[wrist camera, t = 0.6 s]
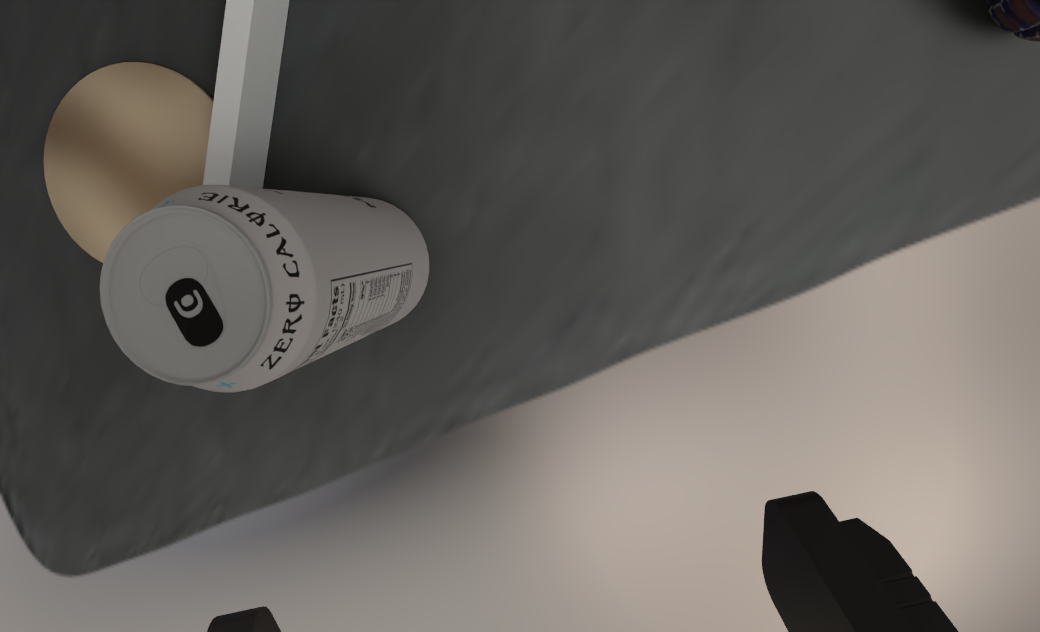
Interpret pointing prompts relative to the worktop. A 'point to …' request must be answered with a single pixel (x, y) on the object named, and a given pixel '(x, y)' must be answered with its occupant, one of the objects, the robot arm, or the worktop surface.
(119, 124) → the cork coaster
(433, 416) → the worktop surface
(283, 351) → the energy drink can
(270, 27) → the white rectangular bar
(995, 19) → the hand grenade
